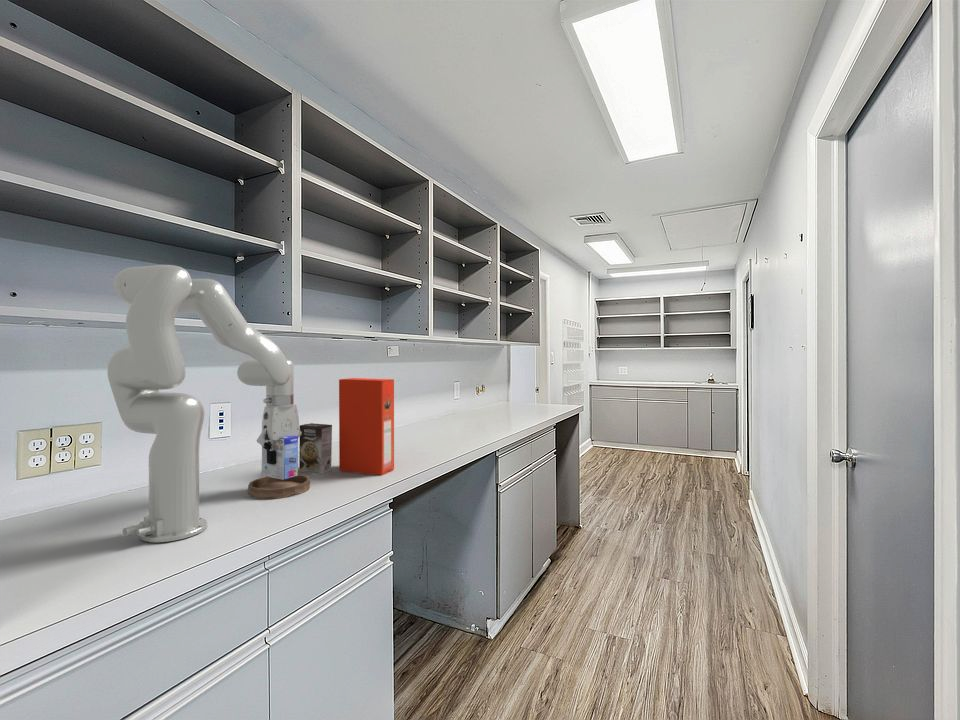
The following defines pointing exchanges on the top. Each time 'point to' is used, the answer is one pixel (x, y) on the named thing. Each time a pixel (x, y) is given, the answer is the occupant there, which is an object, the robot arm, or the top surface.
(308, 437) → the coffee box
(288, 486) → the round tray
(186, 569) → the top surface
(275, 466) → the ink cartridge box
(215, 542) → the top surface
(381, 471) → the file binder
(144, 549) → the top surface
